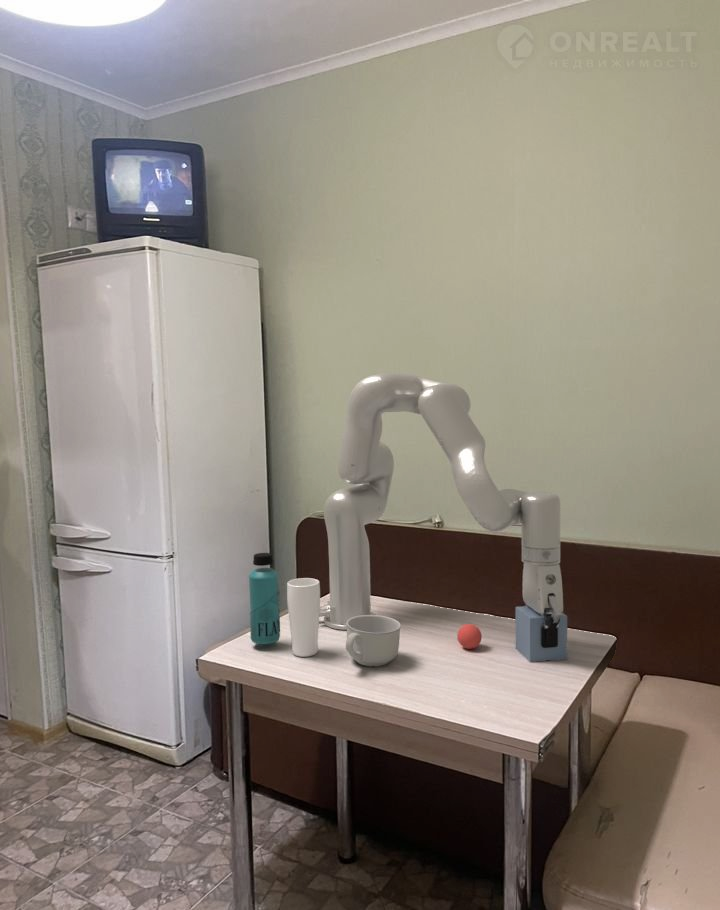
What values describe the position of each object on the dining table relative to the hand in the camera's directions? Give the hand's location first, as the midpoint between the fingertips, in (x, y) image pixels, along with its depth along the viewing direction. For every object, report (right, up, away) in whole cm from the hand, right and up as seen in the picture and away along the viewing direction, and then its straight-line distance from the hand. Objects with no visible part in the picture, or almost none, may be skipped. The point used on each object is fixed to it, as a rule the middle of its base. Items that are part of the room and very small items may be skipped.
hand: (540, 639), depth 142 cm
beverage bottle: (-57, -4, +8) cm, 57 cm away
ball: (-14, 0, +4) cm, 14 cm away
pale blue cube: (0, -3, 0) cm, 3 cm away
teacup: (-35, -4, -3) cm, 35 cm away
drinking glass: (-48, -4, +3) cm, 48 cm away
